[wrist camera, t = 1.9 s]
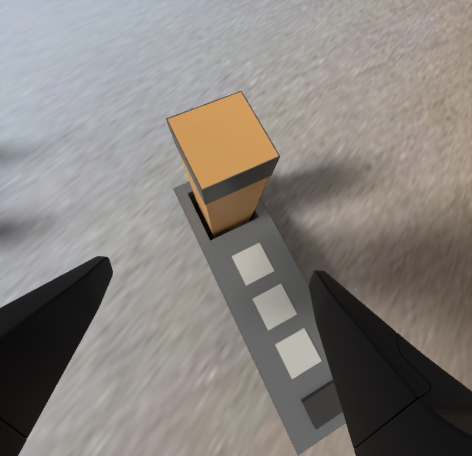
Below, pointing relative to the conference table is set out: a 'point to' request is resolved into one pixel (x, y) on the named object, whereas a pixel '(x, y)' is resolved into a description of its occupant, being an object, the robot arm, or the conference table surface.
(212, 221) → the plug
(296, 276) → the power strip
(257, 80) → the conference table surface
